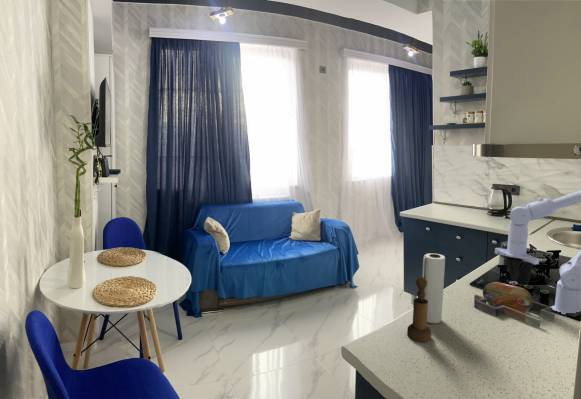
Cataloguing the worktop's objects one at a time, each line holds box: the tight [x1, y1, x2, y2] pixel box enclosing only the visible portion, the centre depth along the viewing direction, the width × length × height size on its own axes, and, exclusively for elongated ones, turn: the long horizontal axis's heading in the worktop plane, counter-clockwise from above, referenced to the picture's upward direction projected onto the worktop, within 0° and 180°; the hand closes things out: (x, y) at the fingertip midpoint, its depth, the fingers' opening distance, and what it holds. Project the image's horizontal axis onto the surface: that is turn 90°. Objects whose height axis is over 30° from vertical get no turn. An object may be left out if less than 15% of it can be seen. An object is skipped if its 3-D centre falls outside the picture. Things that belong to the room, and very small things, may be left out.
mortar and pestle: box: [407, 276, 432, 343], centre depth 111 cm, size 7×6×18 cm
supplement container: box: [497, 240, 528, 266], centre depth 166 cm, size 10×10×12 cm
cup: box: [513, 252, 535, 285], centre depth 150 cm, size 8×8×12 cm
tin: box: [482, 281, 534, 314], centre depth 130 cm, size 15×3×8 cm, turn 44°
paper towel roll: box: [422, 253, 446, 324], centre depth 121 cm, size 7×6×21 cm
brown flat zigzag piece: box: [473, 294, 556, 329], centre depth 128 cm, size 17×22×2 cm
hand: (513, 278), depth 135 cm, fingers closed
